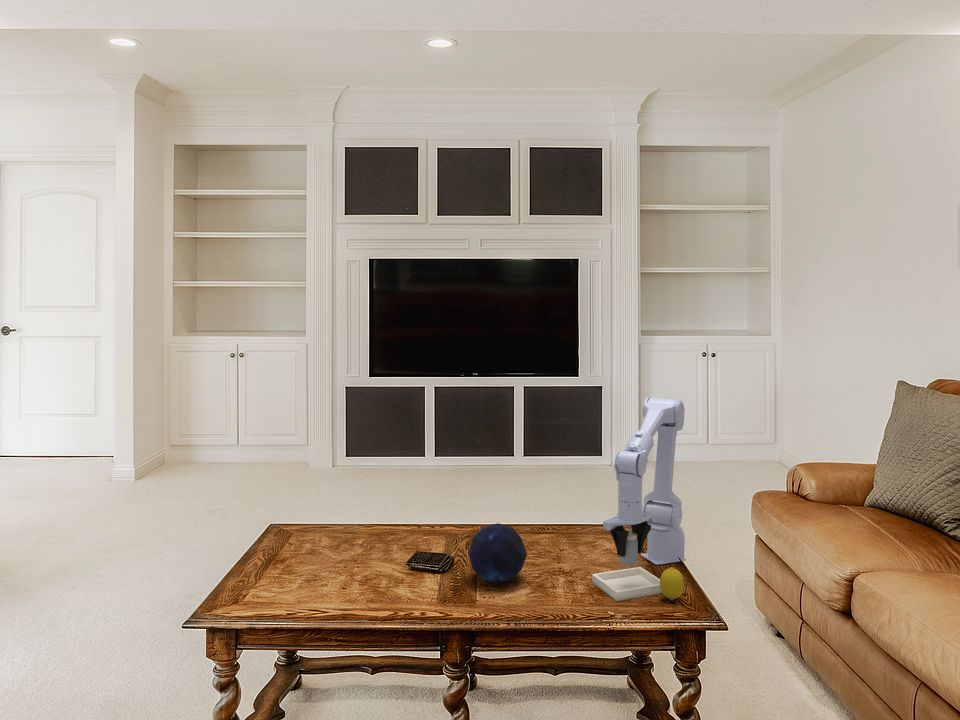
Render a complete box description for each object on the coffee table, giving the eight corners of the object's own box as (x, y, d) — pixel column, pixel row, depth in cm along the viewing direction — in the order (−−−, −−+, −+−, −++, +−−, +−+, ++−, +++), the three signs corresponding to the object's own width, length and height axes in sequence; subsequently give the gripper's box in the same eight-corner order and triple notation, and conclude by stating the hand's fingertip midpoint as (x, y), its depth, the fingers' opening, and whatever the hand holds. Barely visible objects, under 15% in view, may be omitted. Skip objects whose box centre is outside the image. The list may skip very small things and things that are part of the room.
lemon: (679, 607, 172) (680, 573, 171) (656, 601, 175) (656, 568, 174) (686, 598, 177) (687, 565, 176) (663, 593, 180) (664, 561, 179)
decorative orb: (473, 576, 177) (507, 522, 180) (448, 556, 190) (480, 506, 193) (515, 603, 183) (547, 550, 185) (488, 581, 196) (519, 532, 199)
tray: (640, 575, 191) (640, 566, 191) (667, 592, 180) (667, 583, 180) (591, 582, 187) (591, 574, 186) (616, 601, 175) (616, 592, 175)
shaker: (630, 557, 186) (630, 530, 185) (641, 563, 182) (641, 535, 181) (616, 560, 184) (616, 532, 183) (626, 566, 180) (626, 537, 179)
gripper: (642, 492, 188) (642, 544, 189) (595, 499, 181) (595, 553, 183) (661, 498, 182) (660, 552, 183) (613, 507, 175) (613, 563, 176)
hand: (629, 554), depth 182 cm, fingers closed on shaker, 4 cm apart
